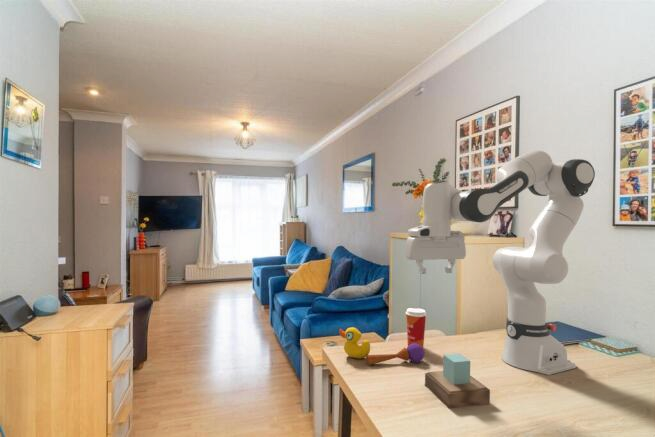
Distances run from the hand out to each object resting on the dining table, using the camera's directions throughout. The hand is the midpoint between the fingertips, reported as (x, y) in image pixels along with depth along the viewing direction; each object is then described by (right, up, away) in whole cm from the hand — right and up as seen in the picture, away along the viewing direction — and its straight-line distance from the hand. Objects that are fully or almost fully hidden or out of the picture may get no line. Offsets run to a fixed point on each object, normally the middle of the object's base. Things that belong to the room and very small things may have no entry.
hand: (435, 273), depth 109 cm
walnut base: (0, -31, -17) cm, 35 cm away
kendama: (-12, -31, +3) cm, 33 cm away
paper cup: (-2, -31, +17) cm, 35 cm away
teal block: (0, -27, -17) cm, 31 cm away
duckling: (-26, -30, +7) cm, 41 cm away
